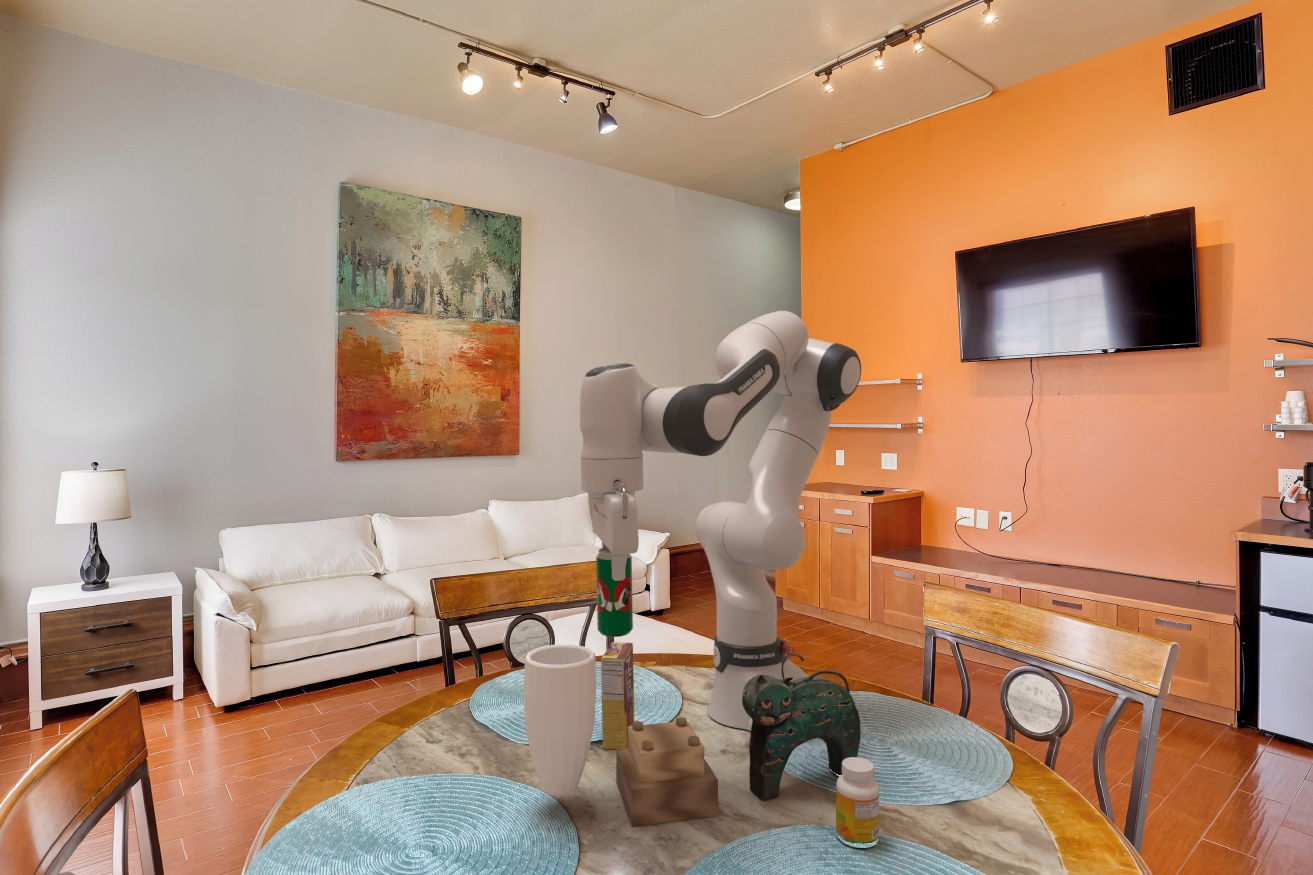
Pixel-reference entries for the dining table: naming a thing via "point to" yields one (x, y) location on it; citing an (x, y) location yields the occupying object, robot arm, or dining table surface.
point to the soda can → (613, 597)
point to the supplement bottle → (857, 802)
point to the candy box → (617, 694)
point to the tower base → (665, 795)
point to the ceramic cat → (797, 724)
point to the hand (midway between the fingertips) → (614, 574)
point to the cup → (559, 713)
